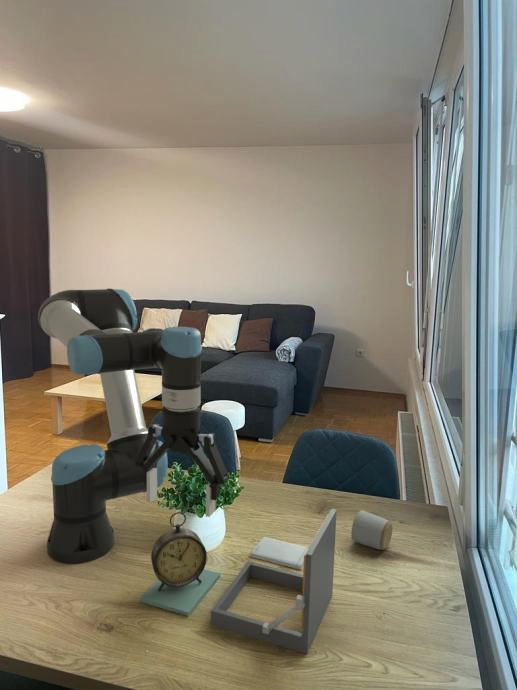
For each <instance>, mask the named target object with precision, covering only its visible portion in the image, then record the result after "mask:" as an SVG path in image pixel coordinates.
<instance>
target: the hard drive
mask: <svg viewBox="0 0 517 690" xmlns="http://www.w3.org/2000/svg"><path fill="white" fill-rule="evenodd" d="M308 548H309V547H306V546H303V545H299V544H295V543H291V542H288V541H282V540H278V539H276V538H275V539H274V538H271V537H266V536H263V537H262V538H261V539H260V540H259V542H257V544H256V545H255V547H254V548H253V549H252V551H251V552H250V558H254V559H257V560H258V559H259V560H262V561H265V562H270V563H273V564H276V565H281V566H285V567H289V568H293V569H297V570H299V571H301V570H302V569H303V567H304V555H305V553H306V551H307V549H308Z"/></svg>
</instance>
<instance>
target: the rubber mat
mask: <svg viewBox="0 0 517 690" xmlns="http://www.w3.org/2000/svg"><path fill="white" fill-rule="evenodd" d="M198 578H199V579H200V580H201V581H202V582H201V583H199V582H198V581H197V580H194V581H193V582H191V583H189V584H187V585H184V586H180V587H172V586H168V585H164V586H163V587H162V588H161V591H158V588H160V585H161V583H162V582H161V581H160V580H159V579H158V580H156V581H155V582H154V584H153V585H152V586H150V587H149V589H148V590H147V591H145V592H144V594H143V595H141V597H140V599H139V600H140V603H143V604H146V603H147V605H150V606H153V607H156V608H161V609H163V610H166V611H170V612H173V611H174V612H173V613H177V614H179V615H184V616H187V617H190V615H191V614H192V613H193V611H195V609H196V608H197V607H198V605H199V604H201V602H202V600H203V599H204V598H205V597H206V595H207V594H208V593H209V591H211V589H212V588H213V587H214V585H215V584H216V583H217V581H218V580H220V578H221V573H219V572H216V571H212V570H209V569H205V568H204V570H203V571H202V573H201V574H200V576H199V577H198Z"/></svg>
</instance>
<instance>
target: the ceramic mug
mask: <svg viewBox="0 0 517 690" xmlns="http://www.w3.org/2000/svg"><path fill="white" fill-rule="evenodd" d="M392 534H393V524H392V522H391V521H390V520H388V519H386V518H383V517H381V516H378V515H375V514H373V513H370V512H368V511H366V510H364V509H363V510H359V511H358V513H356V515H355V517H354V520H353V523H352V526H351V533H350V535H351V540H352V541H353V542H355V543H358V544H360V545H364V546H367V547H370V548H372V549H374V550H375V549H376V550H381V551H384V550H386V549H387V548H388V547H389V544H390V543H391V539H392V536H393V535H392Z"/></svg>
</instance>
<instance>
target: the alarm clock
mask: <svg viewBox="0 0 517 690" xmlns="http://www.w3.org/2000/svg"><path fill="white" fill-rule="evenodd" d="M178 514H181V515H182V516H183V517H184V520H183V522H182V523H181V524H179V523H177V524H175V525H174V524H173V523H172V519H173V517H174V516H176V515H178ZM186 520H187V516H186V514H185V513H184V512H182V511H176V512H174V513H173V514H172V515H171V516H170V517H169V524H170V526H172V527H174V529H170V530H168V531H166V532H165V533H163V534H162V535H161V536H159V537H158V539H157V540H156V541H155V542H154V545H153V546H152V550H151V555H150V561H151V564H152V568H153V572H154V575H155V577H156V578H157V579H158V580H160V581H161V582H162V583H161V585H160V588H158V591H161V588H162V587H163V586H164V585H168V586H172V587H180V586H184V585H187V584H189V583H191V582H193V581H194V580H197V581H198V582H199V583H201V582H202V581H201V580H200V579H199V578H198V577H199V576H200V574H201V573H202V571H203V570H204V569H205V568H206V565H207V560H208V557H207V556H208V555H207V553H208V552H207V550H206V547H205V544H204V543H203V541H202V539H201V538H200V537H199V535H198V534H197V533H196V532H194V531H193V530H192V529H189V528H185V527H184V528H183V527H181V526H183V525H185V523H186Z"/></svg>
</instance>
